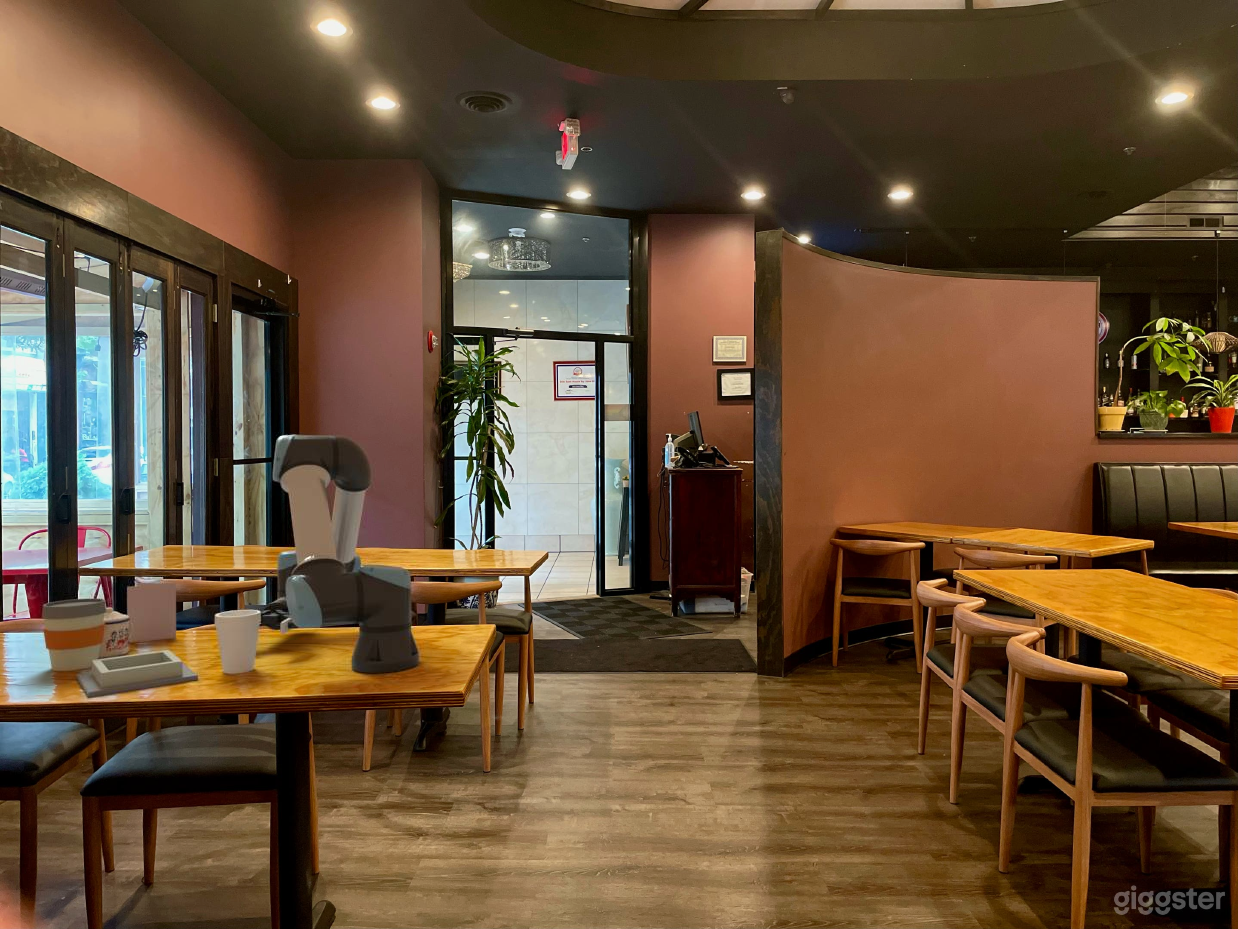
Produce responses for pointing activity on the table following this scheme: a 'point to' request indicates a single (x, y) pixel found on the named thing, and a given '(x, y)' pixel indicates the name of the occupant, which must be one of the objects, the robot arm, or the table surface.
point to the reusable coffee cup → (73, 632)
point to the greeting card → (152, 611)
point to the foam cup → (238, 639)
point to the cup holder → (134, 673)
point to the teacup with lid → (115, 634)
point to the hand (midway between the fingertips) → (252, 629)
